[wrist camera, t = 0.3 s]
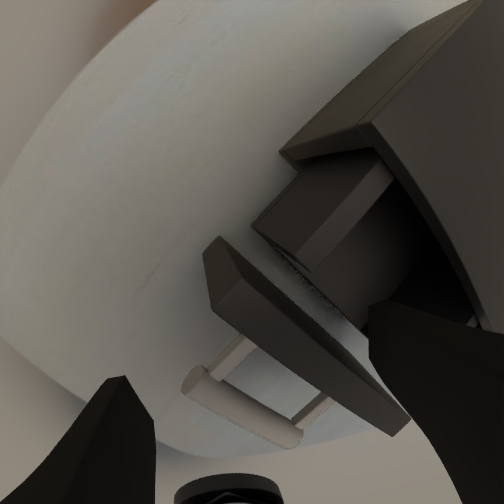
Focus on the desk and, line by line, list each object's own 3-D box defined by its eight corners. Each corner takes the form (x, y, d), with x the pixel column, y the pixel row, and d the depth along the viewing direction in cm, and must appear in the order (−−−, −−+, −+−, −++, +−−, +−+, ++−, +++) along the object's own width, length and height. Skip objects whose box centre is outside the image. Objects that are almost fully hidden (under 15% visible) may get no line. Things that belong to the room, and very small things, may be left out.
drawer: (287, 409, 17) (325, 490, 11) (147, 314, 15) (124, 400, 8) (457, 217, 17) (538, 235, 11) (366, 84, 14) (452, 47, 8)
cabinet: (399, 291, 18) (498, 348, 10) (278, 151, 15) (370, 121, 7) (490, 158, 18) (578, 162, 10) (408, 30, 15) (497, -13, 6)
